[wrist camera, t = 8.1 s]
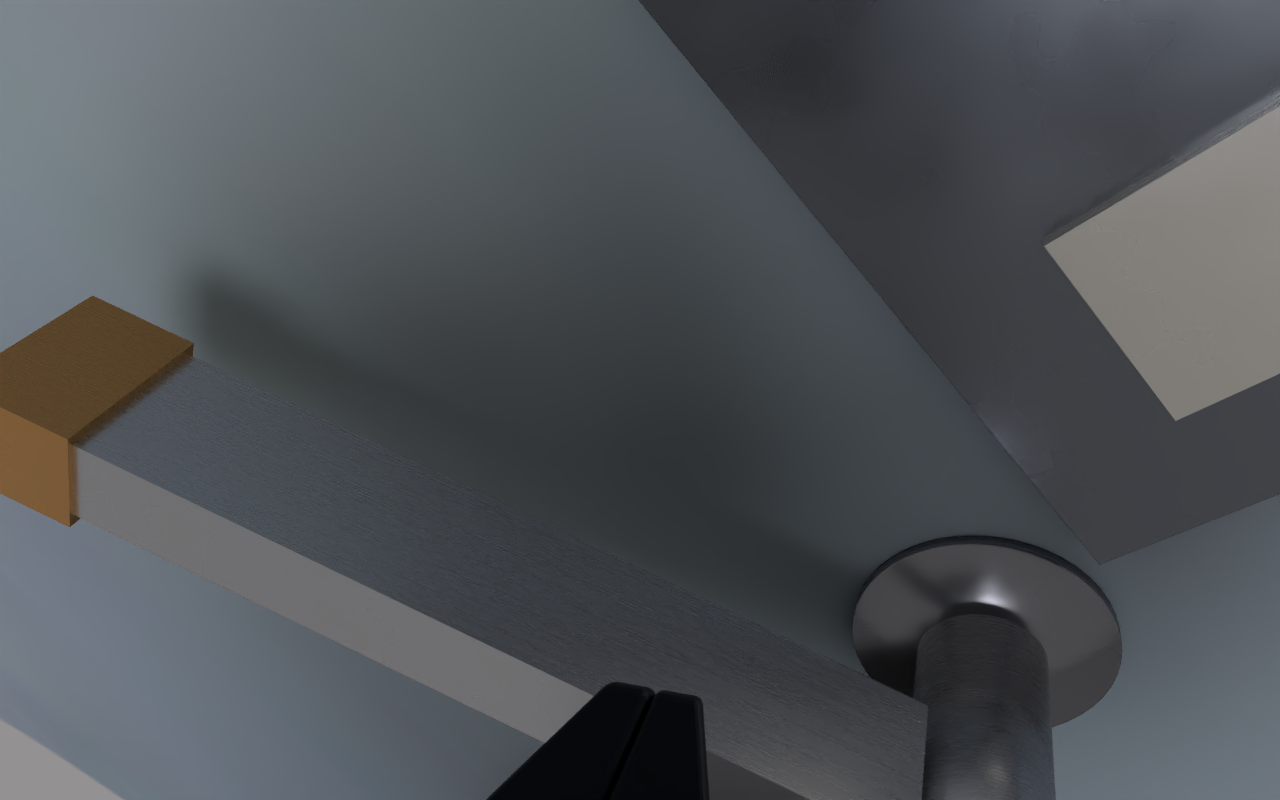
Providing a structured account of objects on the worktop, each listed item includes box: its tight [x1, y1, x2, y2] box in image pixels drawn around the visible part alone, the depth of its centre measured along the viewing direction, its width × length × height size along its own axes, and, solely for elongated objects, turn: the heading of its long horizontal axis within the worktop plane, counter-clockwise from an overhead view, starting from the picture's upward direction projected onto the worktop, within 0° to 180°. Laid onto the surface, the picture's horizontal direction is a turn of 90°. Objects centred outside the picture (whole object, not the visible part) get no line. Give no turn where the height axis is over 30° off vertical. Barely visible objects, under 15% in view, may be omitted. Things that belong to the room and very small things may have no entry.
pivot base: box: [853, 536, 1122, 727], centre depth 20 cm, size 5×5×1 cm
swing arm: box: [0, 296, 1056, 800], centre depth 17 cm, size 19×2×6 cm, turn 71°
